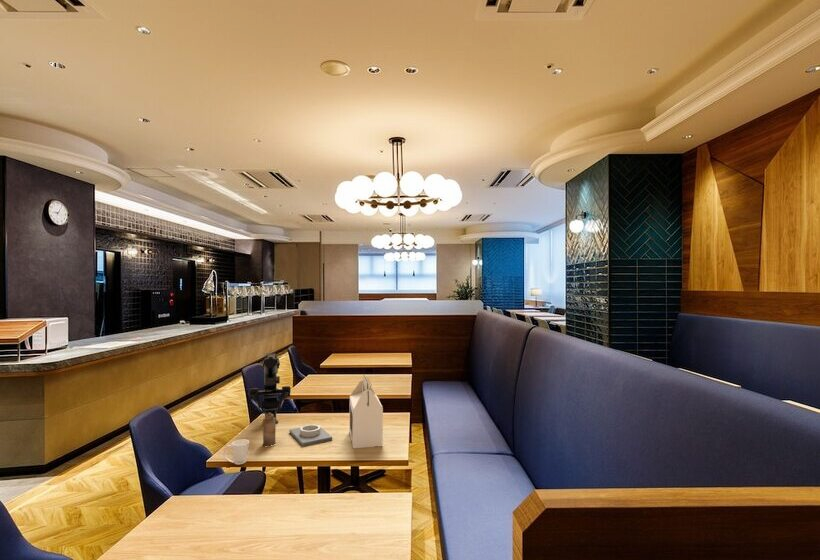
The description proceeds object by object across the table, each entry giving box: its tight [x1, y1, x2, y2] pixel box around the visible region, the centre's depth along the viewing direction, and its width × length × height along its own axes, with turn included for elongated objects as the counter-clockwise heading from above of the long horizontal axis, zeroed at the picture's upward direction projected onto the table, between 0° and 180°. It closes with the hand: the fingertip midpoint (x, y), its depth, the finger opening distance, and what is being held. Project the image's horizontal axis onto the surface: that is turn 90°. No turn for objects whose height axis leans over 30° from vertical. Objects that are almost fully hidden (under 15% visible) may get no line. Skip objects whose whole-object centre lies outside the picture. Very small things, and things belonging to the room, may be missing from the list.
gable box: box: [349, 374, 384, 449], centre depth 196 cm, size 22×13×28 cm, turn 12°
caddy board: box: [288, 424, 333, 447], centre depth 198 cm, size 20×14×4 cm
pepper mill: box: [262, 413, 277, 447], centre depth 188 cm, size 5×5×14 cm
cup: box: [222, 438, 250, 466], centre depth 169 cm, size 7×10×8 cm
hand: (269, 408), depth 196 cm, fingers open, 9 cm apart
